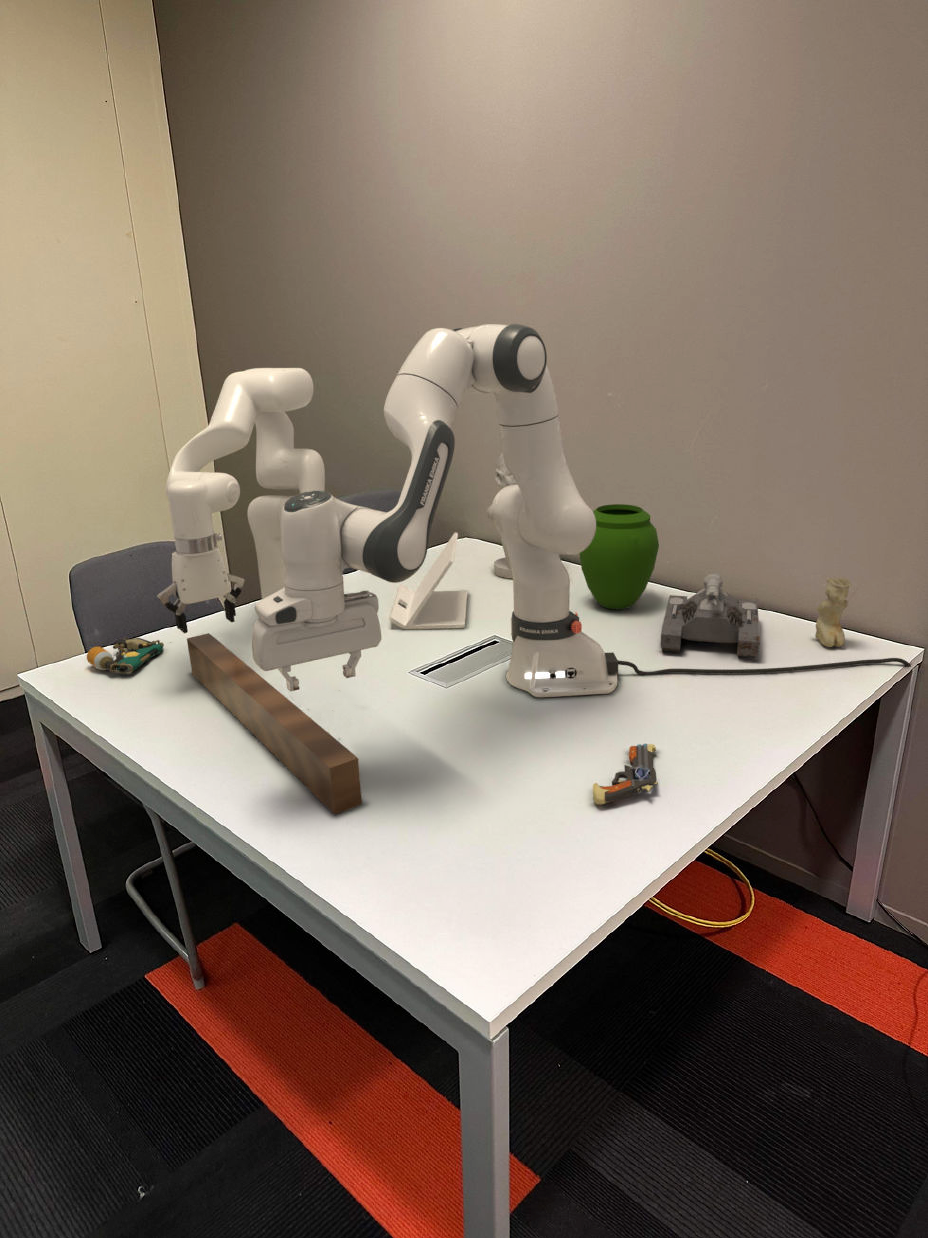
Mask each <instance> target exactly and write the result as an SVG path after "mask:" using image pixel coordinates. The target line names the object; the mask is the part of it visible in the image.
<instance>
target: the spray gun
mask: <svg viewBox="0 0 928 1238" xmlns="http://www.w3.org/2000/svg"><path fill="white" fill-rule="evenodd" d="M113 643H114V645H112V649H113V650H118V654H117V655H116V656H115V659H114V657H113V655H112V653H111V652H110V651H108V650H106V649H105V648H104V647H102V646H94V647H91V648H90V649H89V650H88V651H87V653H86V661H87V663H89V664H90V665H91V666H92V667H94V668H96V669H97V670H100V671H106V670H108V671H110V672H111V673H120V674H132V673H133V671H135V670H137V669H138V668H140V667H141V666H142V664H144V663H145V662H147V661H148V660H150V659H152V657H155V656H156V655H157V656H158V655H159V654H160V653H161V652H163V650H164V646H165V644H164V642H162V641H160V640H159V639H156V640H152V641H151V640H147V639H144V638H142V637H134V638H123V639H117V640H116V641H114V642H113ZM128 650H133V651H128Z"/></svg>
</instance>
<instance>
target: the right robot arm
mask: <svg viewBox="0 0 928 1238" xmlns="http://www.w3.org/2000/svg"><path fill="white" fill-rule="evenodd" d="M545 345H546V344H545V343H544V341H543V339H542V337H541V336H540V334H539V332H538V331H537V330H536V329H534V328H532V327H530V326H527V325H524V324H518V323H512V324H502V323H501V324H499V323H485V324H481V325H477V326H471V327H465V328H462V327H459V328H458V327H457V328H454V329H450V328H447V327H446V328H445V327H436V328H432V329H429V330H428V331H426V332H425V333H424V334H423V335H422V336H421V338H420V339H419V340H418V341H417V342H416V344H415V345H414V346H413V348H412V350H411V351H410V352H409V354H408V355H407V357H406V359H405V360H404V361H403V364H402V365H401V367H400V369H399V371H398V373H397V374H396V376H395V378H394V380H393V382H392V384H391V386H390V388H389V390H388V393H387V395H386V397H385V402H384V407H383V416H384V420H385V423H386V425H387V428H388V430H389V431H390V433H391V435H393V437H394V438H396V439H397V440H398V441H399V442H400V443H401V444H402V445H403V446H404V447H406V448H407V449H408V450H409V451H410V454H411V461H410V466H409V469H408V472H407V475H406V478H405V481H404V484H403V486H402V491H401V493H400V496H399V499H398V502H397V503H396V505H395V507H394V508H392V509H391V510H389V511H387V512H386V511H383V510H378V509H377V510H376V509H373V508H370V507H367V506H362V505H356V504H351V503H349V502H346V501H343V500H341V499H338V498H337V497H335V496H333V494H331V493H330V492H329V491H326V490H325V491H311V492H304V493H300V492H299V493H298V494H295V495H292V496H293V497H291V498H290V499H289V500H287V501H286V502H285V504H284V506H283V509H282V513H281V522H280V537H281V551H282V558H283V560H284V563H285V567H286V574H285V579H284V584H285V587H284V588H283V589H281V590H279V591H278V592H276V593H274V594H272V595H270V596H268V597H266V598H264V599H262V598H261V599H260V600H258V601H257V602H256V603H255V605H254V610H255V614H256V616H257V617H258V619H256V621H255V622H254V624H253V627H252V635H251V651H252V652H251V653H252V660H253V661H254V663H255V665H256V666H257V667H258V668H259V669H260V670H262V671H263V672H269V671H274V670H278V671H279V673H280V674H281V676H283V677H284V679H285V683H286V689H287V690H288V691H289V692H294V691H299V690H300V686H299V685H300V680H299V679H298V678H297V677H296V676H295V675H294V676H291V675H290V674H289V673H291V672H292V666H296V665H301V664H305V663H310V662H313V661H318V660H322V659H323V660H324V659H327V658H332V657H336V656H341V655H345V654H348V655H349V657H348V660H347V662H346V664H342V675H343V677H345V678H346V679H349V678H354V677H356V673H357V672H356V667H357V665H358V663H359V661H360V659H361V657H362V651H364V650H369V649H372V648H373V649H374V648H376V647H378V646H379V645H380V643H381V641H382V629H381V624H380V619H379V614H378V613H379V598H378V596H377V594H375V593H374V592H372V591H371V592H370V590H361V591H358V592H350V593H345V585H344V582H345V581H344V575H343V572H344V571H345V570H346V569H349V568H351V569H354V570H357V571H361V572H364V573H367V574H371V575H372V576H374V577H376V578H379V579H381V580H383V581H386V582H388V583H392V584H393V583H394V584H396V583H397V584H398V583H401V582H405V581H406V580H409V578H411V577H412V576H414V575H415V574H416V573H417V572H418V571H419V570H420V569H421V567H422V566H423V564H424V563H425V560H426V557H427V554H428V548H429V541H430V534H431V529H432V526H433V522H434V519H435V515H436V513H437V509H438V505H439V502H440V500H441V497H442V493H443V490H444V487H445V484H446V481H447V478H448V475H449V471H450V468H451V465H452V461H453V458H454V453H455V445H456V440H455V439H456V438H455V435H454V432H453V430H452V425H453V422H454V418H455V416H456V413H457V411H458V409H459V407H460V404H461V402H462V400H463V397H464V395H465V393H466V392H468V393H475V394H491V393H493V394H494V396H495V398H496V414H497V423H498V429H499V436H500V443H501V451H502V453H503V457H504V462H505V465H506V467H507V469H508V470H509V472H510V473H511V474H512V475H513V477H514V479H515V480H516V482H517V484H518V485H510V486H507V487H505V488H501V489H500V490H499V491H498V493H496V495H495V497H494V499H493V501H492V504H491V505H492V518H493V520H494V522H495V524H496V525H497V527H498V529H499V530H500V532H501V534H502V537H503V540H504V543H505V546H506V550H507V553H508V557H509V561H510V565H511V570H512V576H513V578H512V591H513V593H512V594H513V611H512V612H511V618H510V635H511V640H512V645H511V646H512V647H511V655H510V660H509V665H508V669H507V672H506V675H505V678H506V681H507V683H509V684H510V685H511V686H513V687H515V688H517V689H519V690H522V691H525V692H527V693H529V694H530V695H531V696H533V697H535V698H556V697H572V696H573V697H574V696H588V695H589V696H590V695H591V696H592V695H607V694H611V693H612V692H613V691H615V690H616V688H617V686H618V674H619V666H627V667H630V668H632V669H633V671H634V672H635V673H636V674H637V675H640V676H658V675H663V674H672V673H675V674H677V673H679V674H680V673H684V674H765V673H782V672H794V671H807V670H817V669H829V668H838V667H847V666H849V667H850V666H857V665H868V664H871V665H872V664H886V663H899V664H902V665H904V666H905V667H908V668H910V667H912V665H911V664H910V663H909V661H907V660H905V659H903V658H901V657H900V658H899V657H888V658H878V659H873V658H872V659H860V660H858V659H857V660H851V661H841V662H839V661H838V662H830V663H820V664H810V665H798V666H787V667H785V666H784V667H770V668H769V667H768V668H741V669H740V668H739V669H735V668H733V669H732V668H731V669H730V668H729V669H724V668H723V669H721V668H719V669H717V668H716V669H715V668H714V669H713V668H710V669H709V668H665V669H658V670H653V671H644V670H640V669H639V668H638V666H637V665H636V664H635V663H634V662H631V661H626V660H618V657H616V654H615V652H612V651H611V652H605V651H604V648H603V647H602V645H601V644H600V643H599V642H598V641H596V640H595V639H593V638H591V637H590V636H589V635H587V634H586V633H585V632H583V631H582V630H583V626H582V625H583V624H582V622H581V621H580V616H579V615H578V612H577V611H575V613H574V612H573V611H571V610H570V590H571V589H570V586H571V585H570V584H571V579H570V574H569V572H568V570H567V567H566V566H565V565H564V563H563V561H562V559H561V557H560V555H565V556H566V555H567V556H568V555H570V556H573V555H578V554H579V553H580V552H582V551H584V550H585V549H586V548H587V547H588V546H589V545H590V543H591V542H592V540H593V538H594V536H595V532H596V518H595V515H594V513H593V509H591V507H590V506H589V505H588V504H587V503H586V501H585V500H584V499H583V497H582V496H581V494H580V492H579V489H578V488H577V485H576V483H575V480H574V478H573V475H572V473H571V470H570V468H569V465H568V462H567V459H566V458H567V457H566V455H565V450H564V449H565V448H564V443H563V437H562V429H561V422H560V413H559V407H558V400H557V393H556V391H555V385H554V383H553V378H552V376H551V372H550V369H549V366H548V365H547V363H548V361H547V360H548V356H547V355H548V354H547V349H546V346H545Z"/></svg>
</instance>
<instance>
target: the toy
mask: <svg viewBox="0 0 928 1238" xmlns="http://www.w3.org/2000/svg"><path fill="white" fill-rule="evenodd" d="M723 584H724V580H723V577H722V576H721V575H720V574H718V573H709V574H708V575H707V576H705V577H704V579H703V586H704V588H702V589H700V590H698V591H697V592H696V593H695V594H693V595H692V596H691V597H688V596H687V595H674V594H670V595H669V596H668V600H667V604H666V609H665V613H664V618H663V622H662V625H661V633H660V648H661V651H664V652H674V653H680V652H681V645H682V639H684V640H687V641H693V642H695V641H696V642H707V643H718V644H736V656H737V657H749V658H756V657H757V656H758V653H759V647H760V622H759V620H760V619H759V605H758V604H759V602H758V601H757V600H749V599H747V600H745V599H738V601H737V600H735V598H734V597H732V596H731V595H730V594H729V593H728V592H726V591H724V590H723V589H722V588H723Z"/></svg>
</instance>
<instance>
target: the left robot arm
mask: <svg viewBox="0 0 928 1238" xmlns="http://www.w3.org/2000/svg"><path fill="white" fill-rule="evenodd" d="M314 389H315V388H314V381H313V378H312V376H311V374H310V373H309V372H308V371H307V370H305V369H304V368H302V367H255V368H249V369H246V370H244V371H243V370H242V371H241V370H240V371H236V372H233V373H231V374H229V375H228V376H227V377H226V378H225V380H224V382H223V385H222V387H221V389H220V393H219V396H218V398H217V401H216V404H215V407H214V410H213V413H212V415H211V418H210V421H209V423H208V425H207V427H205V428H204V429H202V430H201V431H200V432H198V433H196V435H194V436H193V437H192V438H191V439H190V440H189V441H187V442H186V443H185V444H184V445H183V446H182V447H181V448H180V449H179V450H178V452H177V453H176V454H175V457H174V459H173V461H172V464H171V467H170V470H169V472H168V475H167V478H166V484H165V495H166V498H167V501H168V505H169V512H170V518H171V519H170V520H171V526H172V531H173V537H174V538H173V539H174V544H175V545H174V546H175V551H173V552H172V554H171V580H172V583H171V584H170V585H168V586H167V587H166V588H165V589H163V590H162V591H160V592H159V593H158V594H157V595H156V596H157V599H158V600H159V602H160V603H161V604H162V605H163V606H164V607H165V608H166V609H167V610H169V611H170V612H172V613H174V618H175V624H176V628H177V629H178V630H179V631H181V632H182V633H183V634H187V633H188V632H189V630H188V624H187V618H186V617H187V616H186V614H185V613H184V610H185V609H186V607H187V606H188V605H190V604H195V603H200V602H204V601H210V600H214V599H218V598H222V597H223V598H224V601H223V607H224V613H225V614H224V615H225V619H226V620H227V621H229V622H230V623H234V622H235V621H236V620H235V617H236V616H237V614H236V613H237V612H236V606H235V603H236V602H237V599H238V597H239V596H240V595H241V593H242V589H243V586H244V584H245V578H243V577H241V576H238V575H235V574H231V573H228V572H227V567H226V563H225V560H224V558H223V554H222V551H221V549H220V547H219V546H218V542H221V541H223V535H222V534H221V533H215V529H214V521H213V514H214V513H219V512H224V511H228V510H230V509H232V508H233V507H234V506H235V505H236V504H237V503H238V501H239V499H240V495H241V487H240V484H239V481H238V480H237V479H236V478H235V477H234V476H233V475H231V474H228V473H226V472H208V471H201V470H202V469H203V468H205V466H207V465H208V464H210V463H211V462H213V461H217V460H219V459H221V458H223V457H226V456H228V455H231V454H233V453H236V452H238V451H240V450H241V449H244V448H245V447H246V446H247V445H248V444H249V442H250V438H251V436H252V433H253V429H254V426H255V430H256V445H255V449H256V450H255V476H256V477H255V478H256V481H257V483H258V485H259V486H260V487H262V488H263V489H267V490H278V491H279V490H280V491H299V494H300V493H304V492H311V491H325V492H326V489H325V488H326V471H325V469H326V468H325V464H324V461H323V458H322V456H321V454H320V453H319V452H318V451H316V450H314V449H311V448H295V429H294V424H293V422H292V421H291V419H290V417H289V416H288V414H287V413H286V412H291V411H295V410H299V409H303V408H304V407H306V406H308V405H309V403H310V402H311V401H312V398H313V397H314ZM293 496H294V495H280V494H279V495H278V494H277V495H275V494H274V495H273V494H271V495H270V494H269V495H268V494H267V495H261V496H257V497H256V498H253V500H251V502H249V504H248V507H247V513H246V514H247V521H248V525H249V528H250V531H251V534H252V538H253V542H254V548H255V553H256V560H257V570H258V577H259V584H260V585H259V586H260V595H261V600H262V599H264V598H266V597H268V596H270V595H272V594H274V593H276V592H278V591H279V590H281V589H283V588H284V587H285V584H284V579H285V574H286V567H285V563H284V560H283V558H282V551H281V537H280V522H281V513H282V509H283V506H284V504H285V502H286V501H287V500H289V499H290V498H291V497H293ZM229 582H231V583H234V586H233V588H232V589H231V590H230V583H229ZM172 595H174V597H175V599H176V600H175V602H174V603H172V602H171V601H170V600H169V598H170V596H172Z"/></svg>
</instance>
